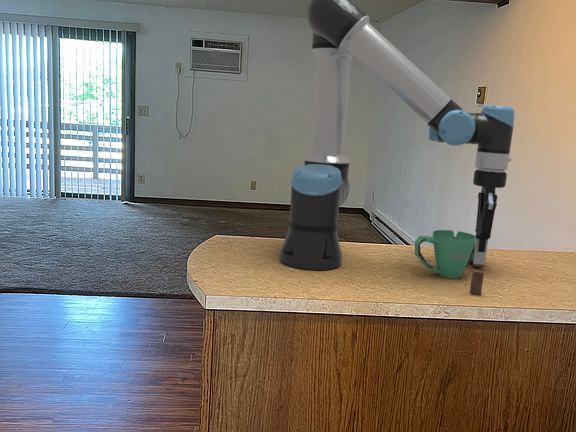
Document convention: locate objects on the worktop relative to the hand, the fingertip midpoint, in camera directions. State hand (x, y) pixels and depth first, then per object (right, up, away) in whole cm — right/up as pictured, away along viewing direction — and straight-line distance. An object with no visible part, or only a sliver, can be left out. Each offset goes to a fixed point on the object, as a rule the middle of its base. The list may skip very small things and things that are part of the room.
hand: (478, 263), depth 142 cm
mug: (-12, -2, -8) cm, 14 cm away
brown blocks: (-3, -2, -7) cm, 8 cm away
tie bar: (+2, +1, +13) cm, 14 cm away
